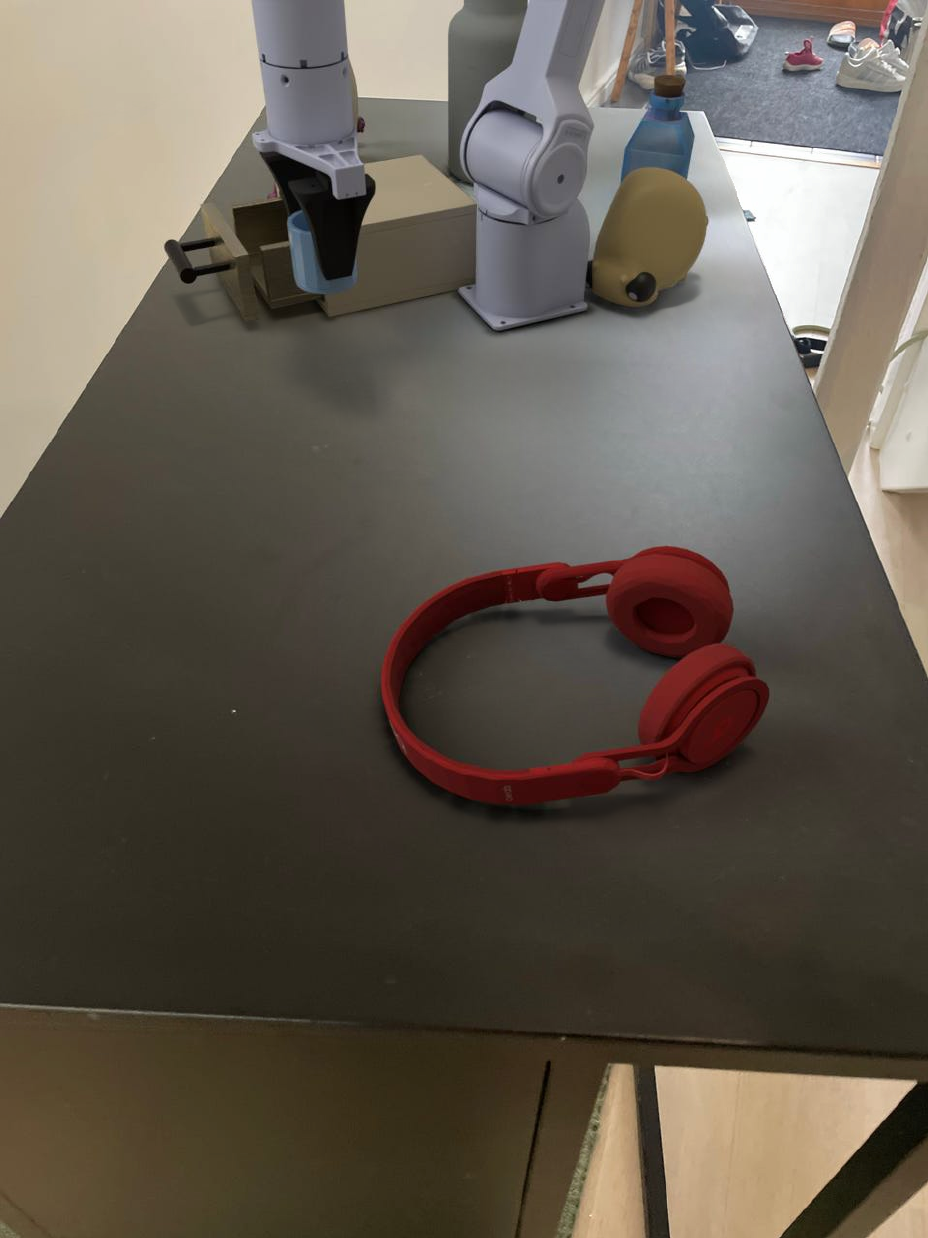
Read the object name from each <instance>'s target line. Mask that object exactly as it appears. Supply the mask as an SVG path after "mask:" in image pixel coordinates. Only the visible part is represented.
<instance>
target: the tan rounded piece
mask: <svg viewBox="0 0 928 1238" xmlns="http://www.w3.org/2000/svg"><path fill="white" fill-rule="evenodd" d="M709 220H710V219H709V217H708V215H707V209H706V205H705V202H704V200H703V198H702V195H701V193H700V192H699V191H698V189H697V188H696V187H695V186H694V185H693V183H691V181H689V180H688V178H687V179H685V178H684V177H682V176H681V175H679V174H677V173H675V172H672V171H670V170H666V169H662V168H655V167H645V168H639V169H636V170H634V171H632V172H630V173H629V174H628V175H627V176H626V177H625V178H624V180H623V181H622V183H621V184H620V183H619V186H618V188H617V190H616V192H615V194H614V196H613V198H612V201H611V203H610V205H609V208H608V210H607V212H606V215H605V217H604V219H603V222H602V224H601V227H600V229H599V233H598V234H597V238H596V242H595V246H594V251H593V256H592V259H590V260H588V264H587V273H586V282H585V288H587V289H589V290H590V291H591V292H593V294H595V295H596V296H598V297H600V298H602V299H603V300H606V301H608V302H611V303H613V304H617V305H619V306H622V307H626V308H640V307H645V306H648V305H651V304H652V303H653V302H655V300H656V299H657V298H658V294H659V293H658V292H659V291H664V290H665V289H668V288H670V287H672V286H674V285H676V284H677V283H683V282H685V280H686V279H687V278H688V273H689V272H690V271H691V269H692V268H693V266H694V265H695V263H696V262H697V260H698V258H699V256H700V254H701V252H702V249H703V247H704V244H705V240H706V236H707V229H708V228H707V227H708V225H709V223H710V221H709Z"/></svg>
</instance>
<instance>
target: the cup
mask: <svg viewBox="0 0 928 1238" xmlns="http://www.w3.org/2000/svg"><path fill="white" fill-rule="evenodd" d="M287 227H288V235H289V242H290V250H291V257H292V265H293V273H294V278H295V283H296V285H297V286H298V287H299V288H300V289H302V290H304V291H307V292H310V293H315V294H334V293H339V292H343V291H345V290H348V289H350V288H352V287H353V286H354V285H355V284H356V283H357V281H358V262H357V251H356V258H355V264H354V269H353V273H352V276H349V277H344V278H339V279H334V280H329V281H327V280H326V279H325V278H324V277H323V274H322V272H321V270H320V267H319V264H318V260H317V256H316V252H315V248H314V244H313V240H312V236H311V232H310V229H309V226H308V223H307V220H306V218H305V215H304V213H303V211H302V210H300V211H297V212H295V213H293V214H292V215H291V216H290V217H289V218H288V221H287Z"/></svg>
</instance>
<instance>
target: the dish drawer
mask: <svg viewBox="0 0 928 1238" xmlns="http://www.w3.org/2000/svg"><path fill="white" fill-rule="evenodd" d="M199 205H200V210H201V216H202V221H203V226H204V231H205V236H206V238H204V239H203V238H201V239H198V240H192V241H187V242H181V243H179V241H178V240H176V239H168V240H166V242H164V244H163V250H164V251H165V253H166V255H167V257H168V259H169V261H170V263H171V264H172V266H173V268H174V270H175V271H176V273H177V275H178V277H179V279H180V280H181V282H182V283H184V284H186V285H191V284H193V283H194V282H196V280H197V277H203V276H207V275H211V274H216V275H217V276H218V278H219V280H220V282H221V283H222V285H223V286H224V288H225V289H226V292H227V293H228V295H229V296H230V298H231V300H232V301H233V303H234V305H235V306H236V308H237V310H238V311H239V313H240V314H241V316H242V317H243V319H244V321H245V322H251V321H255V320H260V315H259V309H258V302H257V295H256V290H255V287H256V288H257V289H258V291H259V292H260V294H261V295H262V297H263V299H264V300H265V302H266V303H267V305H268V307H269V308H270V309H272V310H273V309H276V308H280V307H286V306H291V305H296V304H300V303H305V302H311V301H315V300H316V299H320V298H324V294H315V293H310V292H307V291H304V290H302V289H300V288H299V287H298V286H297V285H296V283H295V278H294V273H293V265H292V257H291V250H290V242H289V235H288V227H287V221H288V218H289V215H288V212H287V209H286V206H285V203H284V201H283V198H282V196H280V197H274V198H268V199H267V198H263V199H258V200H250V201H246V202H245V201H244V202H240V203H233V204H230V205H229V206H230V213H231V219H232V225H233V229H232V228H231V226H230V225H229V222H227V220H226V219H225V217H224V216H223V214H222V213H221V212H220V210H219V209H218V207H217V206H216V204H215V202H214V201H212V202H211V201H210V202H206V203H201V204H199ZM202 249H208V252H209V256H210V264H209V263H208V264H205V265H198V266H193V265H192V263H191V261H190V259H189V258H188V255H186V253H187V252H191V251H192V252H193V251H197V250H202Z"/></svg>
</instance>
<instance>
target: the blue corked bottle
mask: <svg viewBox="0 0 928 1238" xmlns="http://www.w3.org/2000/svg"><path fill="white" fill-rule="evenodd" d="M653 81H654V82H653V87H654V88H653V89H652V90H651V91H650V94H649V102H648V103H649V105H650V106H651V107H648V109H647V110H646V112H645V113H644V115H643V117H642V118H641V120H640V121H639V123H638V125H637V127H636V128H635V130H634V132H633V134H632V135H631V137H630V138H629V140H628V142H627V144H626V146H625V147H624V152H623V159H622V166H621V173H620V174H621V175H620V181H619V185H620V184H621V183H622V181H623V180H624V178H625V177H626V176H627V175H628V174H629V173H630V172H632V171H634V170H636V169H639V168H645V167H655V168H662V169H666V170H670V171H672V172H675V173H677V174H679V175H681V176H682V177H684V178H685V179H687V180H688V177H689V176H688V175H689V170H690V166H691V159H692V154H693V148H694V142H695V138H696V137H695V136H696V135H695V132H694V129H693V126H692V123H691V120H690V117H689V113H688V112H686V111H680V110H681V108H683V107H684V105H685V98H686V93H685V92H684V89H685V86H686V83H687V79H685V78H684V77H682V76H679V75H674V74H661V75H656V76H655V77H654V78H653Z"/></svg>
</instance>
